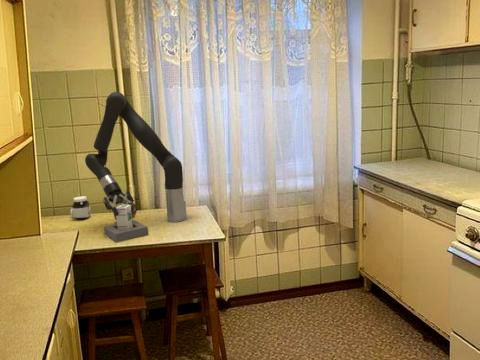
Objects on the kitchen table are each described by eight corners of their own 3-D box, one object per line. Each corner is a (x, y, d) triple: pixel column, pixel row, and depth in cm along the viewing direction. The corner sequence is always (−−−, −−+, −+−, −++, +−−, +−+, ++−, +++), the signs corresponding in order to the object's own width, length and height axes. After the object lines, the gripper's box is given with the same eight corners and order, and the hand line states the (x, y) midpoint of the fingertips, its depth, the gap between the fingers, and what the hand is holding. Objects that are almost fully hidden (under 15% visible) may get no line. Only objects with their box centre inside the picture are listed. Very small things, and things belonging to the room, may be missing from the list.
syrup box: (129, 236, 241) (126, 207, 238) (118, 236, 242) (114, 207, 239) (134, 232, 246) (131, 204, 243) (123, 232, 247) (120, 204, 244)
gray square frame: (135, 227, 255) (134, 219, 254) (148, 234, 242) (147, 226, 241) (104, 234, 246) (103, 226, 245) (116, 242, 233) (115, 234, 232)
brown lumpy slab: (117, 223, 263) (116, 208, 261) (113, 223, 264) (111, 207, 263) (137, 215, 275) (136, 201, 273) (133, 215, 277) (132, 200, 275)
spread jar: (84, 221, 270) (82, 200, 268) (65, 221, 272) (62, 200, 270) (94, 214, 282) (92, 194, 279) (75, 214, 284) (73, 194, 281)
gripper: (99, 184, 239) (114, 211, 233) (125, 179, 249) (140, 205, 243) (95, 193, 244) (109, 220, 238) (120, 188, 254) (135, 213, 248)
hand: (125, 212), depth 241 cm, fingers closed on syrup box, 8 cm apart
